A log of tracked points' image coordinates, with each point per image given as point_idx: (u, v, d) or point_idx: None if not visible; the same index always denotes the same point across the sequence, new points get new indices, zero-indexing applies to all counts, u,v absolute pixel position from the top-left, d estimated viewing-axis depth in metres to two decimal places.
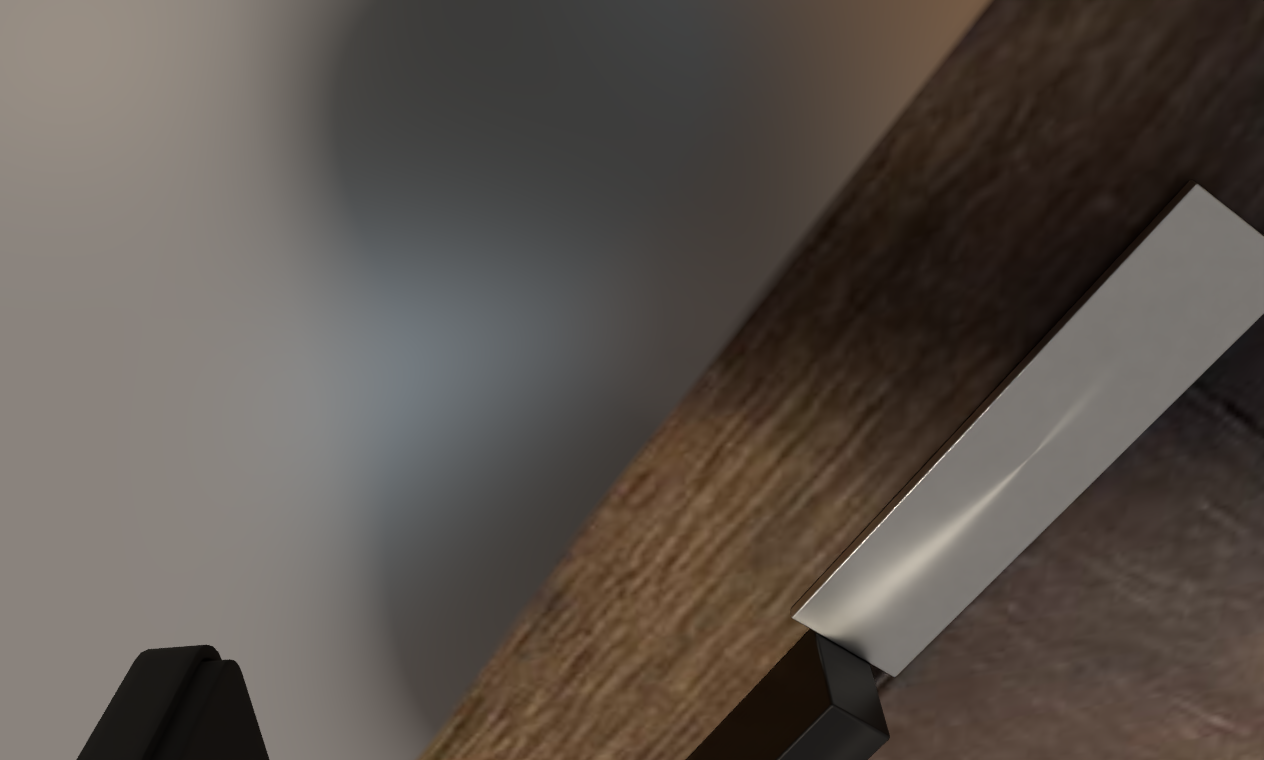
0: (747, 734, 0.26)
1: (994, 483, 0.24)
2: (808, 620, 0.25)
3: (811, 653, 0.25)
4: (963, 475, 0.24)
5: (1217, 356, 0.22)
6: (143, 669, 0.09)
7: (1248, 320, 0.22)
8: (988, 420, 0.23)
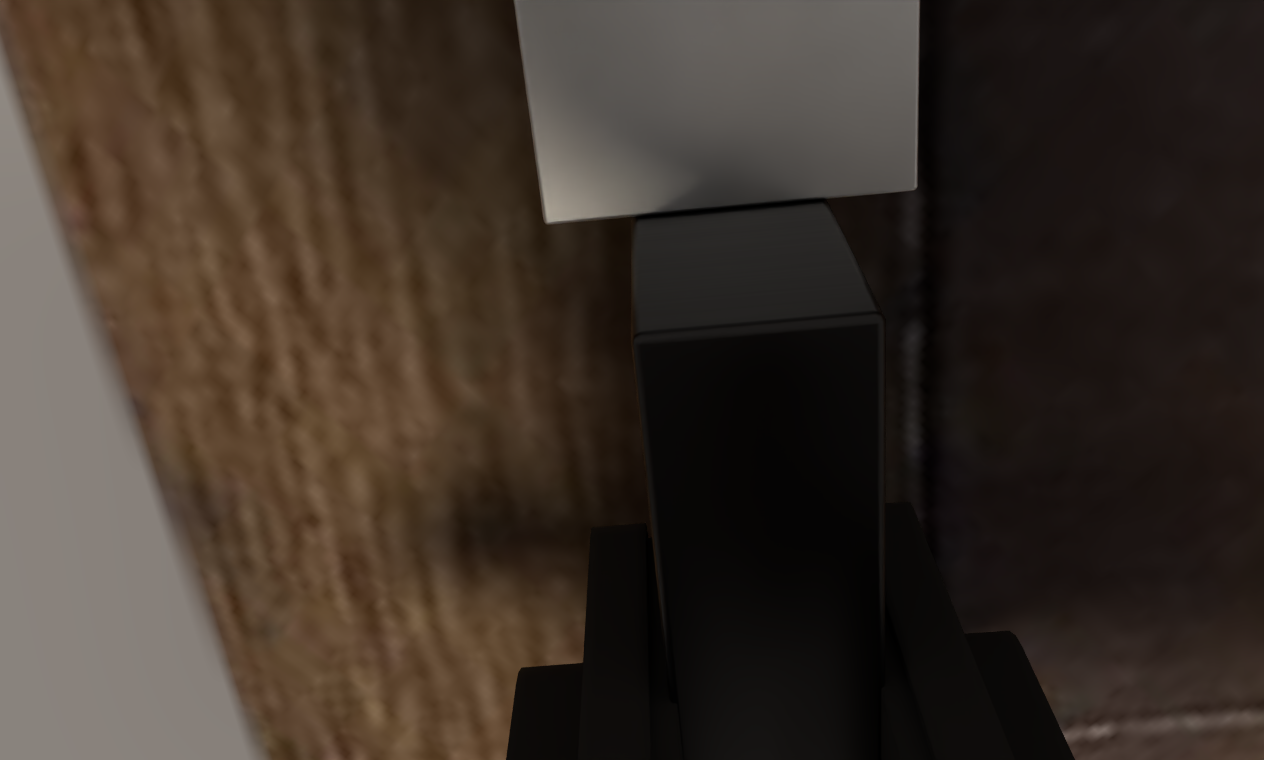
0: None
1: None
2: (584, 201, 0.09)
3: None
4: None
5: None
6: (604, 541, 0.10)
7: None
8: None
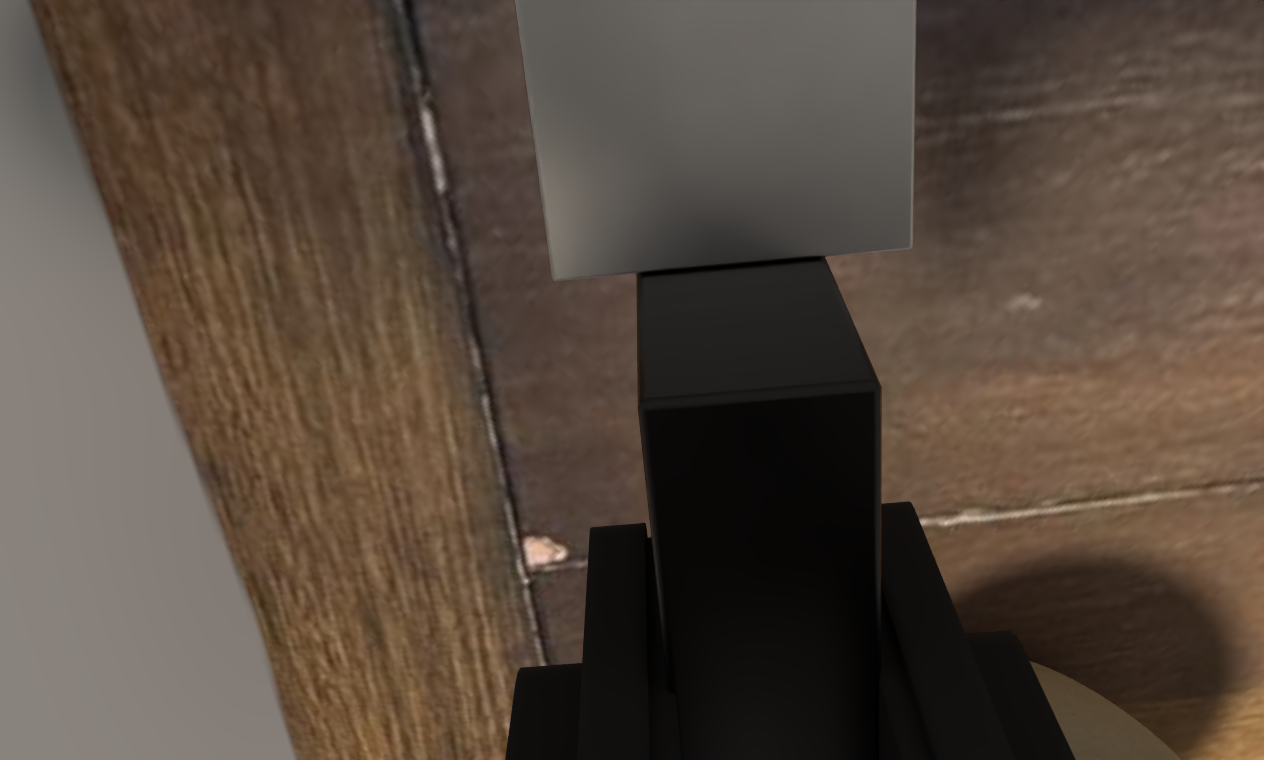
0: None
1: None
2: (590, 260, 0.09)
3: None
4: None
5: None
6: (603, 541, 0.10)
7: None
8: None
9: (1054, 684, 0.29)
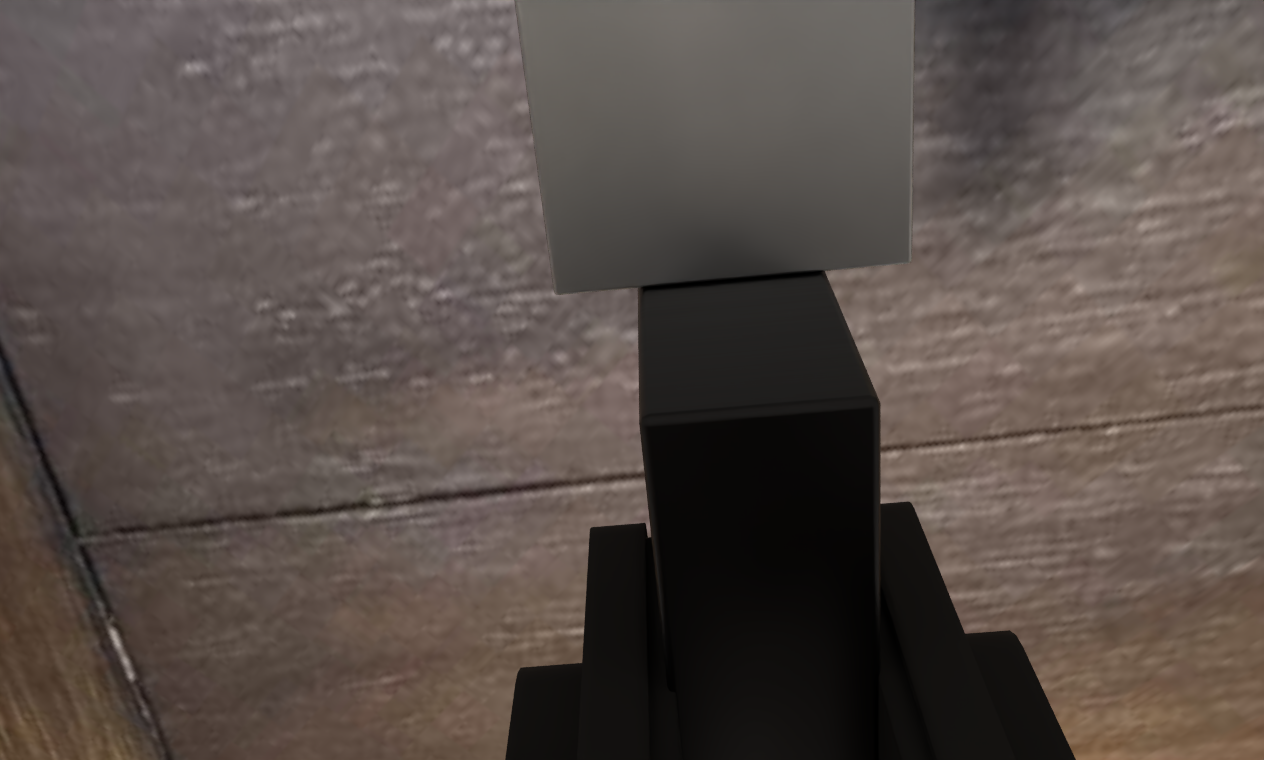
0: None
1: None
2: (593, 273, 0.10)
3: None
4: None
5: None
6: (603, 541, 0.10)
7: None
8: None
9: None
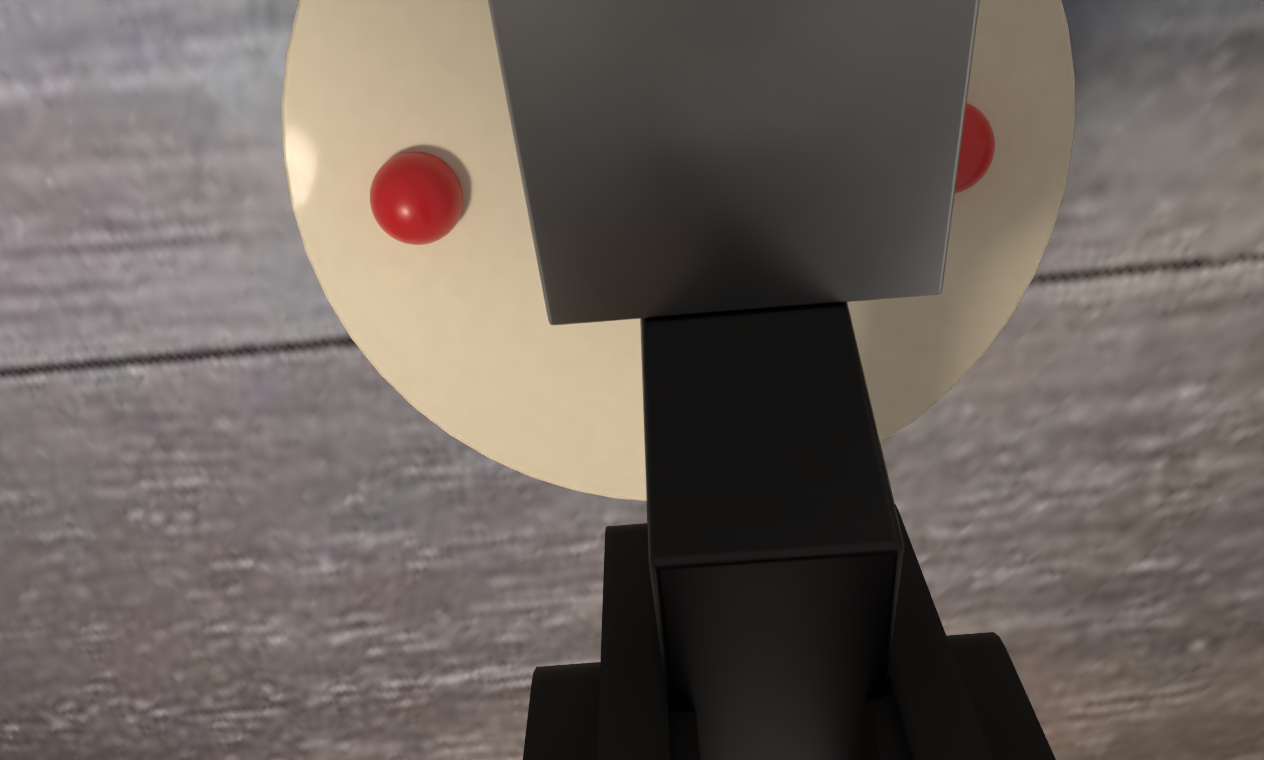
0: None
1: None
2: (591, 307, 0.09)
3: None
4: None
5: None
6: (619, 540, 0.10)
7: None
8: None
9: None
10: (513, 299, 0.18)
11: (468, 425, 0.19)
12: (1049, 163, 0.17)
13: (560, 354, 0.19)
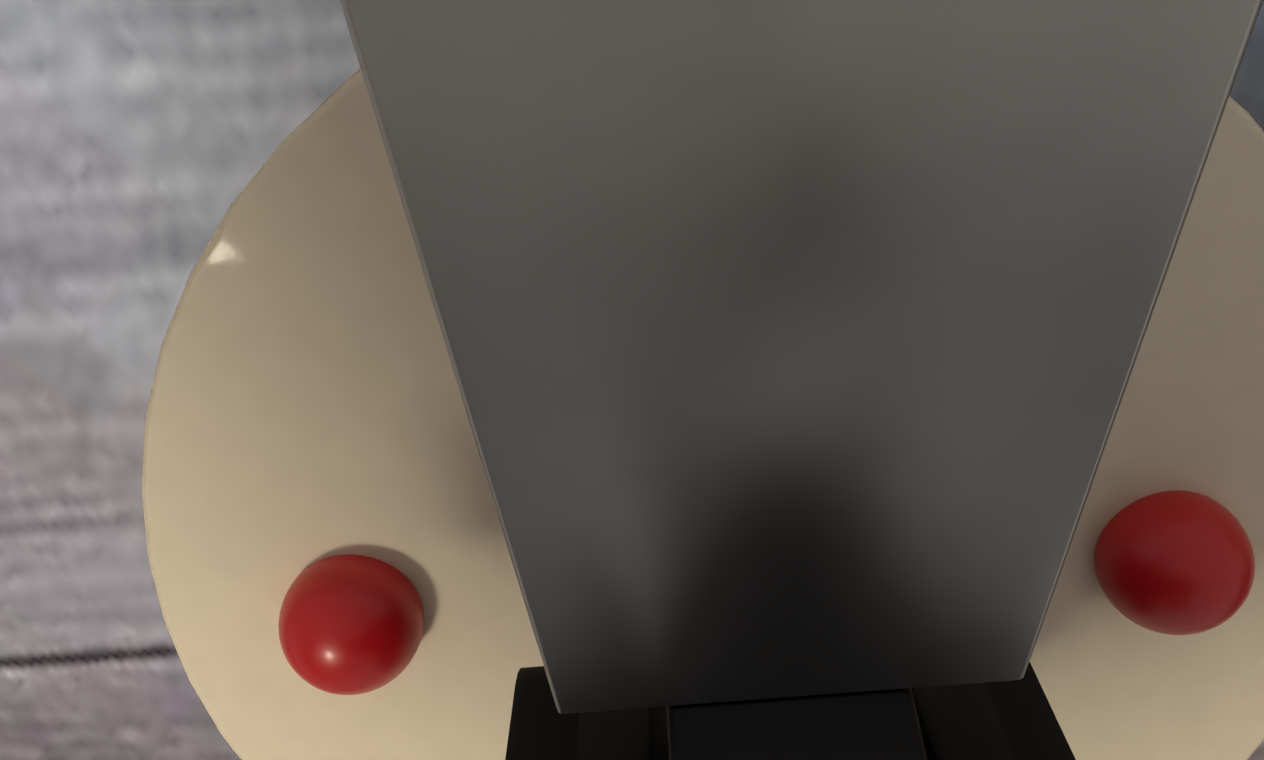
0: None
1: None
2: (608, 700, 0.07)
3: None
4: (549, 34, 0.04)
5: None
6: None
7: None
8: None
9: None
10: (500, 740, 0.12)
11: None
12: None
13: None
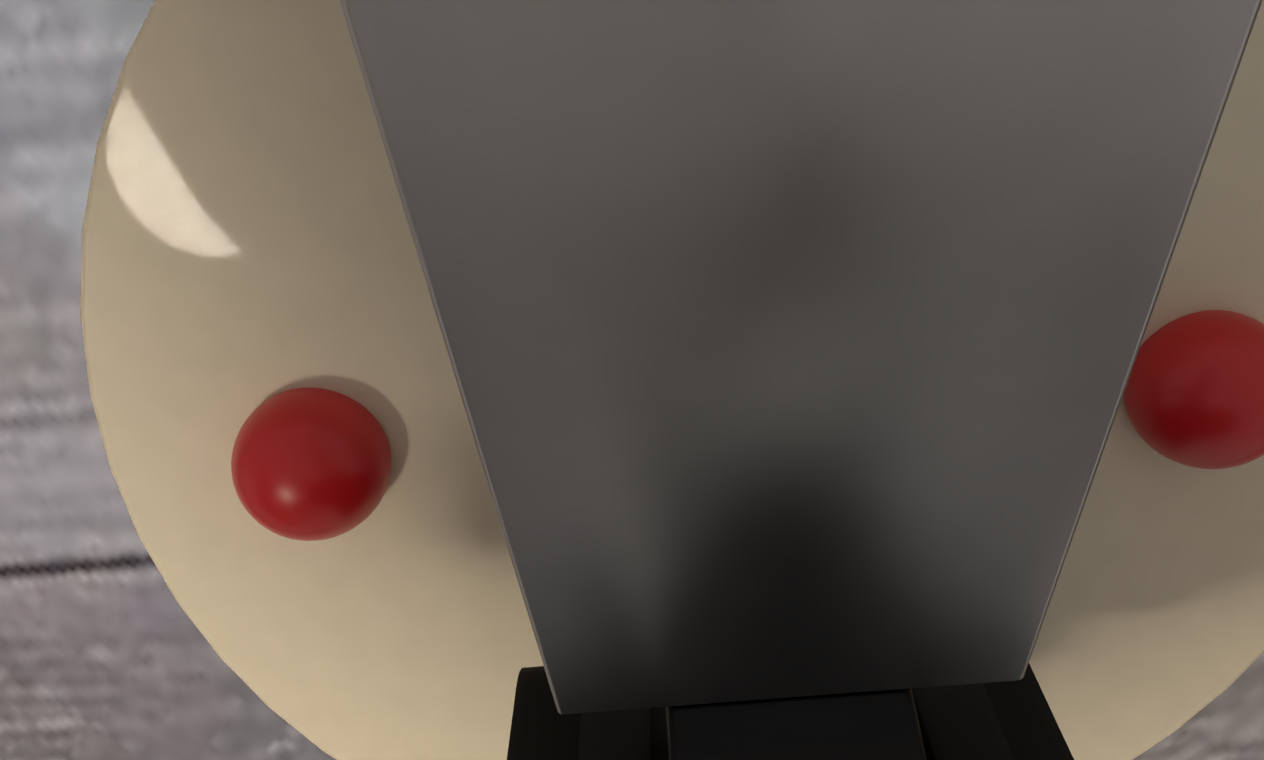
0: None
1: None
2: (608, 702, 0.07)
3: None
4: (549, 37, 0.04)
5: None
6: None
7: None
8: None
9: None
10: (477, 604, 0.11)
11: None
12: None
13: None
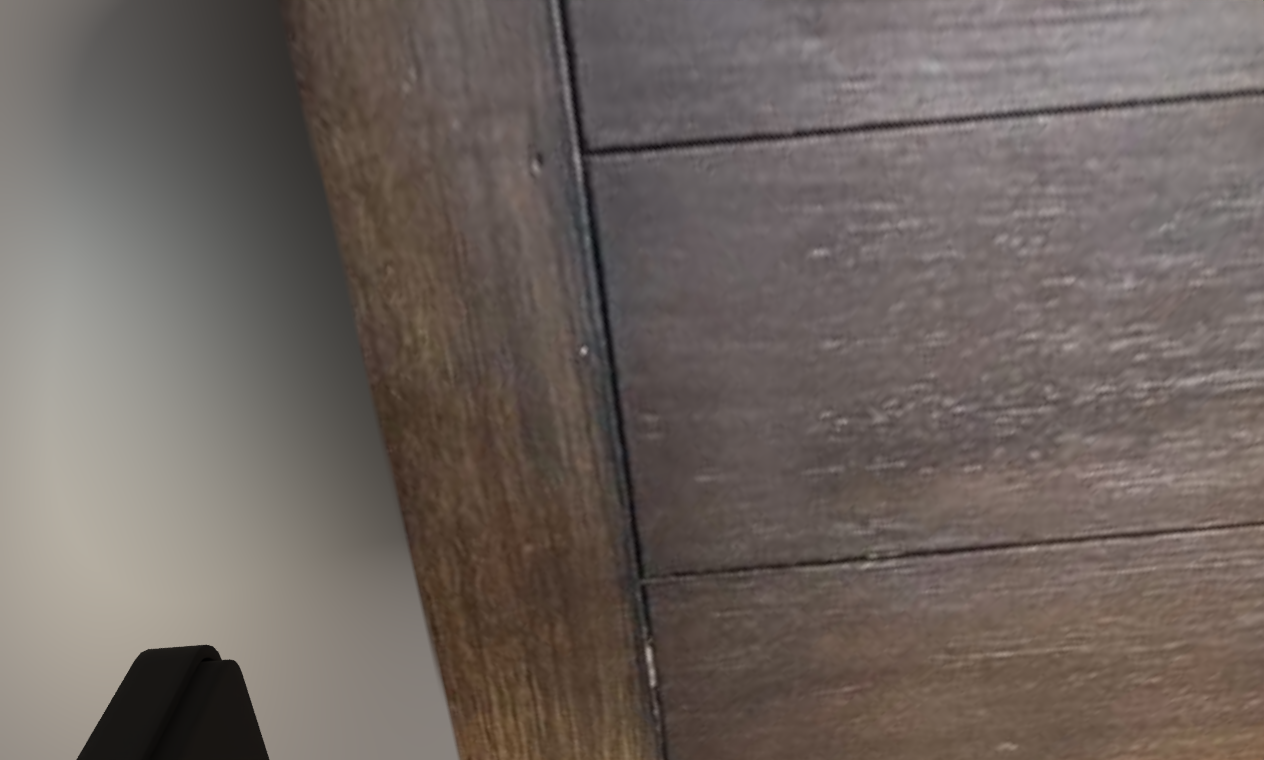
0: None
1: None
2: None
3: None
4: None
5: None
6: (143, 669, 0.09)
7: None
8: None
9: None
10: None
11: None
12: None
13: None
